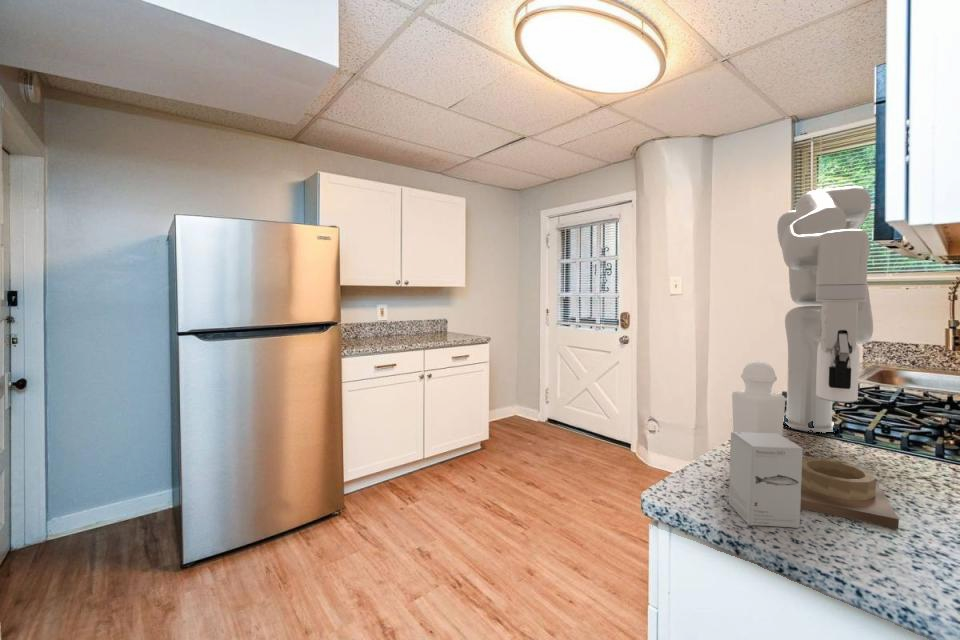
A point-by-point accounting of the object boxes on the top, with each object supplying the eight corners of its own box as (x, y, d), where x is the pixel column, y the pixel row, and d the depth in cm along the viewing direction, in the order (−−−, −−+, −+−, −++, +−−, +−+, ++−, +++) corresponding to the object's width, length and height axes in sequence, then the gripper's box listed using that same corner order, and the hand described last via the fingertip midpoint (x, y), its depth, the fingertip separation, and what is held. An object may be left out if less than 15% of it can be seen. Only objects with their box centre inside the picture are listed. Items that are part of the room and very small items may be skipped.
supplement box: (749, 527, 66) (750, 445, 65) (727, 503, 73) (729, 430, 72) (801, 529, 65) (804, 447, 64) (775, 505, 72) (777, 431, 71)
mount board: (786, 468, 87) (787, 446, 86) (872, 483, 80) (873, 459, 79) (791, 506, 72) (792, 480, 71) (898, 528, 65) (899, 499, 64)
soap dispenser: (755, 461, 91) (758, 357, 89) (784, 474, 84) (787, 362, 83) (729, 465, 89) (731, 359, 88) (757, 478, 83) (759, 364, 81)
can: (859, 404, 82) (861, 342, 81) (815, 400, 86) (818, 340, 85) (856, 397, 87) (858, 338, 86) (815, 393, 91) (817, 336, 90)
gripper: (812, 293, 94) (809, 374, 95) (820, 295, 79) (817, 391, 81) (857, 292, 90) (853, 377, 91) (875, 295, 75) (870, 396, 77)
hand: (836, 383), depth 86 cm, fingers closed on can, 6 cm apart
